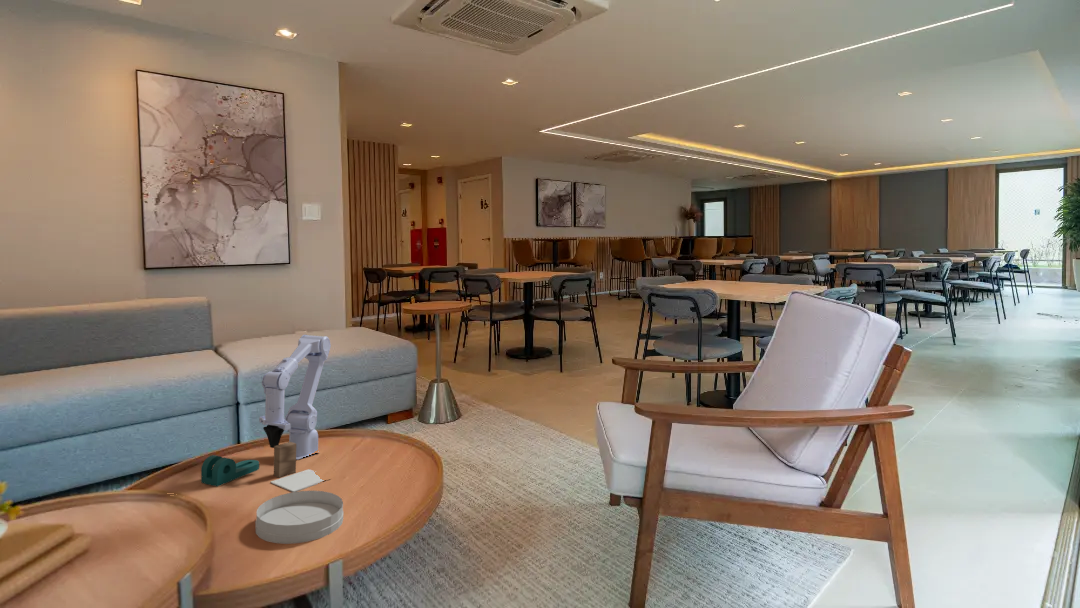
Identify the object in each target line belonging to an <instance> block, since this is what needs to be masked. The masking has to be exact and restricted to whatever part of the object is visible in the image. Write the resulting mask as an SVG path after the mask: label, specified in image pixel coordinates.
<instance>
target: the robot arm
mask: <svg viewBox="0 0 1080 608" xmlns="http://www.w3.org/2000/svg"><path fill="white" fill-rule="evenodd" d="M331 347H332V345H331V339H330V338H329V336H326V335H324V336H322V335H311V334H310V335H308V334H302V335H301V337H300V338H299V339H298V341H297V346H296V348H295V349H294V351H293V352H292V353H291V355H290V356H288V357H283V359H282V360H281V361H280V362H279V364H277V365H276V367H274V368H273V369H272V371H271V370H270V371H268V372H266V373H264V375H263V377H262V380H261V386H262V387H263V393H264V394H265V413H264V415H262V416H259V417H258V419H259V421H258V422H259V424H262V425H264V426H263V427H262V429H263V431H264V433H265V435H266V437H267V440H268V444H269V447H270V448H271V449H274V446H277V445H280V442H281V441H280V440H281V438H282V436H283V433H284V432H285V431H287V433H288V432H289V436H288V440H289V441H288V442H293V443H296V461H297V460H302V459H304V458H303V457H305V458H307V457H306V456H308V457H310V456H309V454H310V455H311V454H312V453H314V452H315V451H317V450H318V451H319V434H318V433H319V432H318V431H317V430H316V427H317V419H318V418H317V417H318V411H317V409H316V408H315V407H314V406H313V403H314V400H315V396H316V394H317V393H316V392H317V389H318V386H319V382H320V378H321V374H322V372H323V368H324V365H325V364H324V363H325V361H327V360H328V358H329V355H330V354H329V353H330V350H331ZM303 359H306V360H308V365H307V368H306V371H305V375H304V379H303V382H302V386H301V389H300V393H299V396H298V400H297V402H296V403H295V404H293V405H291V406H290V407H289V408H288V412H287V414H285V395H286V394H285V393H286V392H285V390H286V388H287V387H288V386H289V383H290V380H291V377H292V376H293V374H295V372H296V371H297V370H298V368H299V363H300V362H301V361H302V360H303ZM311 456H312V455H311Z"/></svg>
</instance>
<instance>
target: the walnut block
mask: <svg viewBox="0 0 1080 608" xmlns="http://www.w3.org/2000/svg"><path fill="white" fill-rule="evenodd" d="M296 466H297V460H296V443H293V442H289V441H287V442H283V443H281V444H280V443H279V445H277V446H274V448H273V476H274V477H276V478H277V479H278V478H279V479H280V478H283V477H286V476H289V475H292V474H296V473H297V467H296Z"/></svg>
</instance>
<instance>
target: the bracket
mask: <svg viewBox="0 0 1080 608" xmlns="http://www.w3.org/2000/svg"><path fill="white" fill-rule="evenodd" d="M200 469H201V470H200V471H201V473H200V476H201V477H200V478H201V479H200V483H201V484H205V485H210V486H213V487H220V486H222V485H224V484H227V483H230V482H232V481H234V480H237V479H240V478H242V477H243V476H248V475H249V474H251V473H255V472H256V471H259V469H260V461H259V460H257V459H246V460H245V459H244V460H242V461H239V462H236V461H235V459H233V458H229V457H225V456H224V457H223V456H220V455H216V454H215V455H214V454H213V455H209V456H208V457H207V458H205V459H204V461H203V462H202V464H201V467H200Z"/></svg>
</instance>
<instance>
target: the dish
mask: <svg viewBox="0 0 1080 608" xmlns="http://www.w3.org/2000/svg"><path fill="white" fill-rule="evenodd" d="M344 513H345V512H344V501H343V499H342V498H341V497H340V496H339V495H337V494H336V493H335V494H334V493H332V492H330V491H329V492H328V491H323V490H300V491H297V492H287V493H283V494H280V495H277V496H274V497H272V498H269V499H268V500H266V501H264V502H263V503H261V504H260V505H259V506H258V508H257V509H256V520H255V534H256V535H257V536H258V538H259V539H261V540H263V541H265V542H267V543H269V542H270V543H273V544H282V545H283V544H284V545H289V544H301V543H307V542H312V541H316V540H318V539H322V538H324V537H326V536H329V535H331V534H332V533H334V532H335V531H336V530H338V529H339V528H340V527H341V526H342V525H343V523H344V522H343V521H344Z"/></svg>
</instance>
